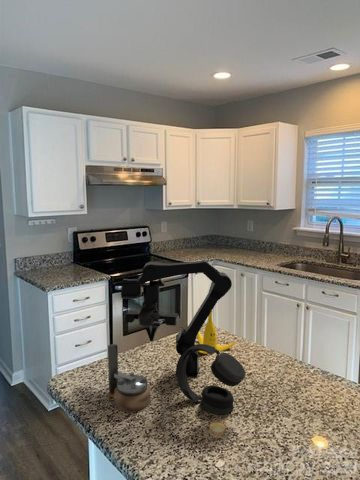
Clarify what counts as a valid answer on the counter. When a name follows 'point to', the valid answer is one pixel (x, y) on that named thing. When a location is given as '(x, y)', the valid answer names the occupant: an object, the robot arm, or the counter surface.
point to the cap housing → (131, 400)
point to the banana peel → (211, 337)
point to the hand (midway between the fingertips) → (151, 340)
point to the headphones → (223, 370)
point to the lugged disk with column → (123, 377)
